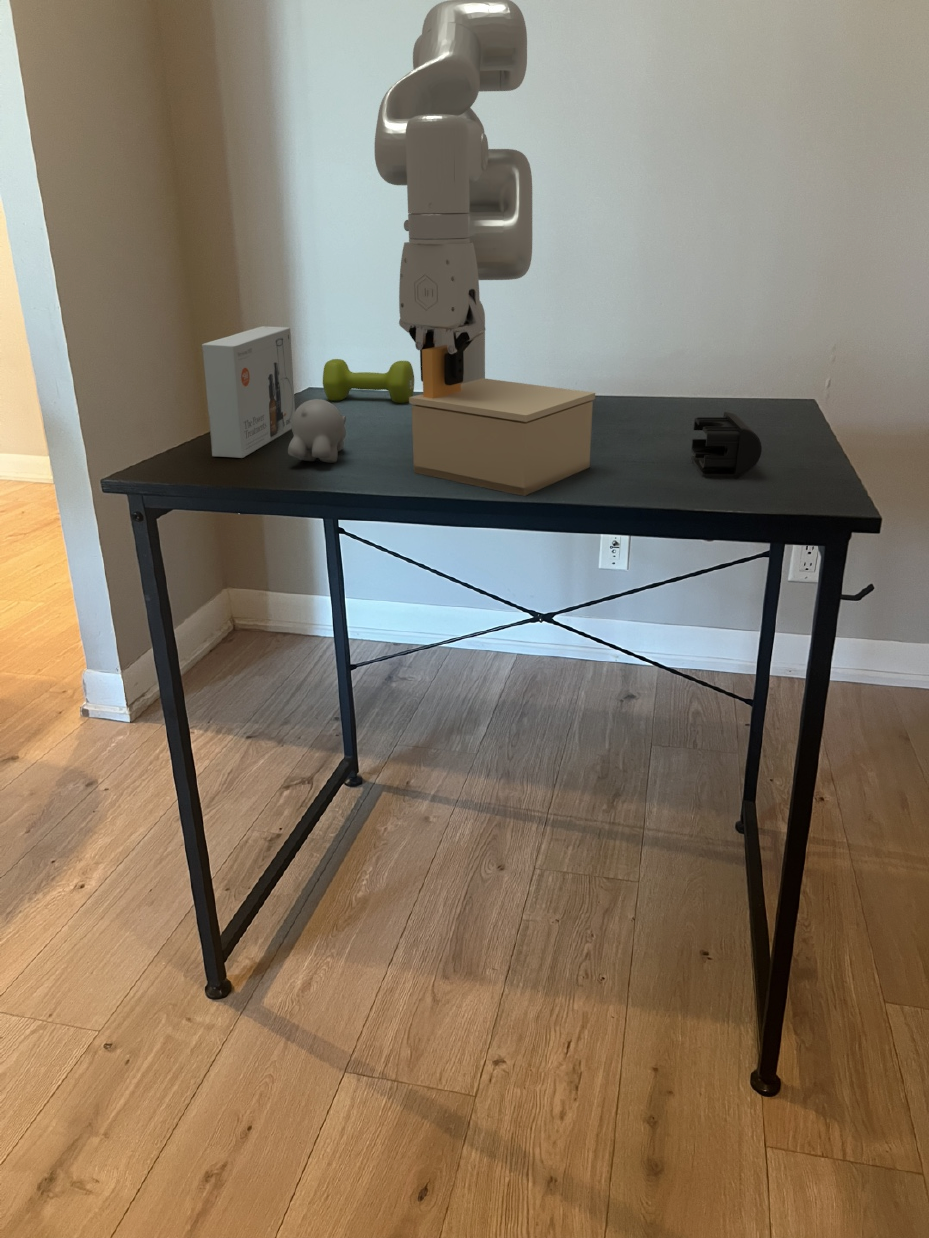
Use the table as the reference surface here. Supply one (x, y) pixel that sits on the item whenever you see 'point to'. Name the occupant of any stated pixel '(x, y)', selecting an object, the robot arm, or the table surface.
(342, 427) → the white animal toy
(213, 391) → the skincare box
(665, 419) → the table surface
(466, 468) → the carton
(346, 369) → the dumbbell
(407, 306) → the robot arm
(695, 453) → the end cap
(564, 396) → the flap
